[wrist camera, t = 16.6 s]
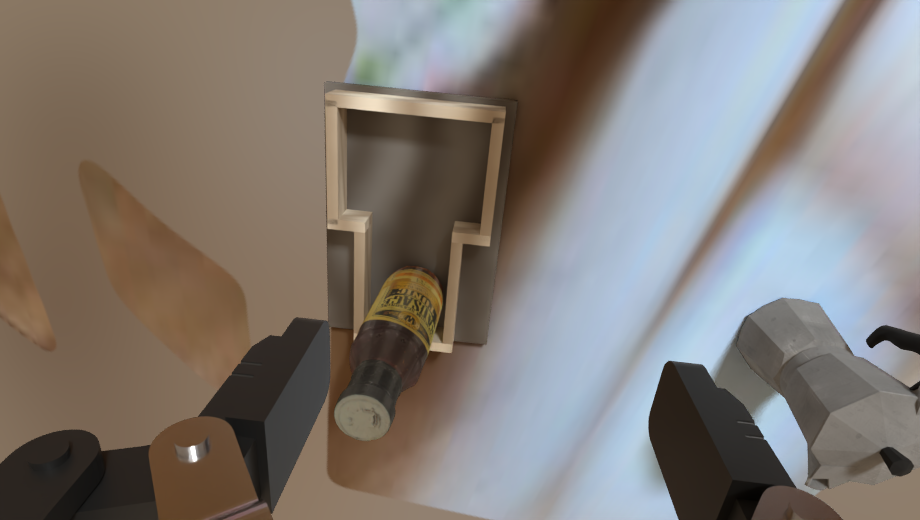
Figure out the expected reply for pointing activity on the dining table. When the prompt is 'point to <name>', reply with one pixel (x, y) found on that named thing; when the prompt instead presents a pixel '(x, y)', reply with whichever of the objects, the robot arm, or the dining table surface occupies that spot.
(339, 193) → the keyhole board
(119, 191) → the dining table surface
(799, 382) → the coffeepot
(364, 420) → the sauce bottle
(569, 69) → the dining table surface
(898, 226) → the dining table surface
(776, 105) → the dining table surface
